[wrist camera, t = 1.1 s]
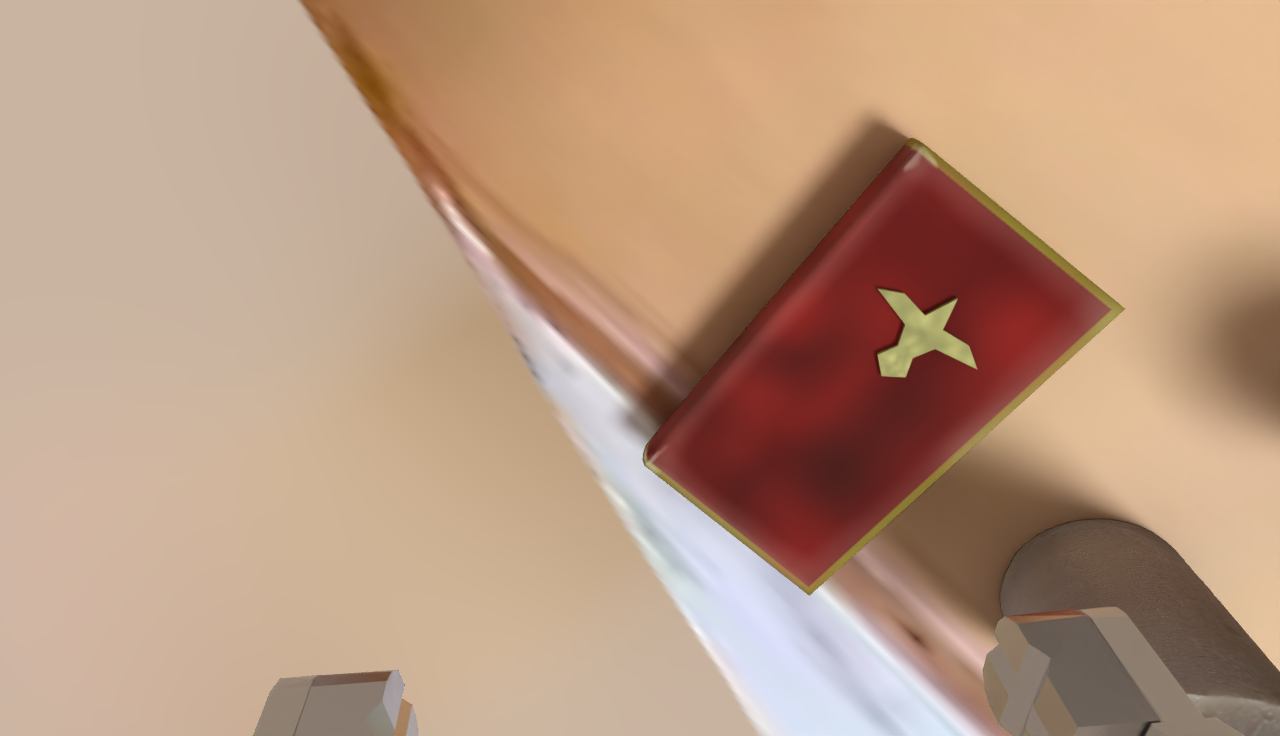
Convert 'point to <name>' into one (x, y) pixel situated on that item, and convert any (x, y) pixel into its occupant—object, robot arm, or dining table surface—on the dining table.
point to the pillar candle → (1151, 613)
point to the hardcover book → (875, 368)
